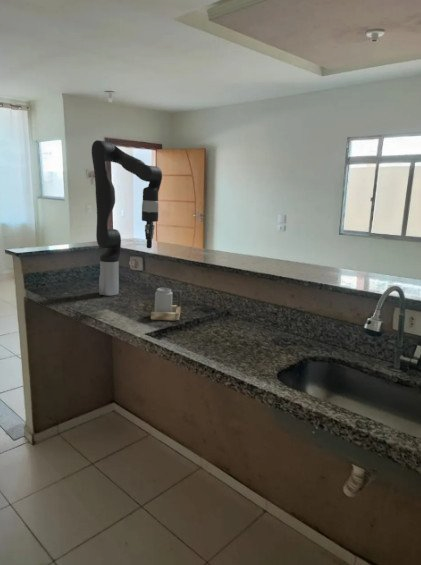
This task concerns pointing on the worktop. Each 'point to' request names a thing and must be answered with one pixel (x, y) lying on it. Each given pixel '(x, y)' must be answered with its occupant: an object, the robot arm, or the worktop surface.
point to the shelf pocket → (169, 315)
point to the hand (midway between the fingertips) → (149, 248)
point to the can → (163, 300)
